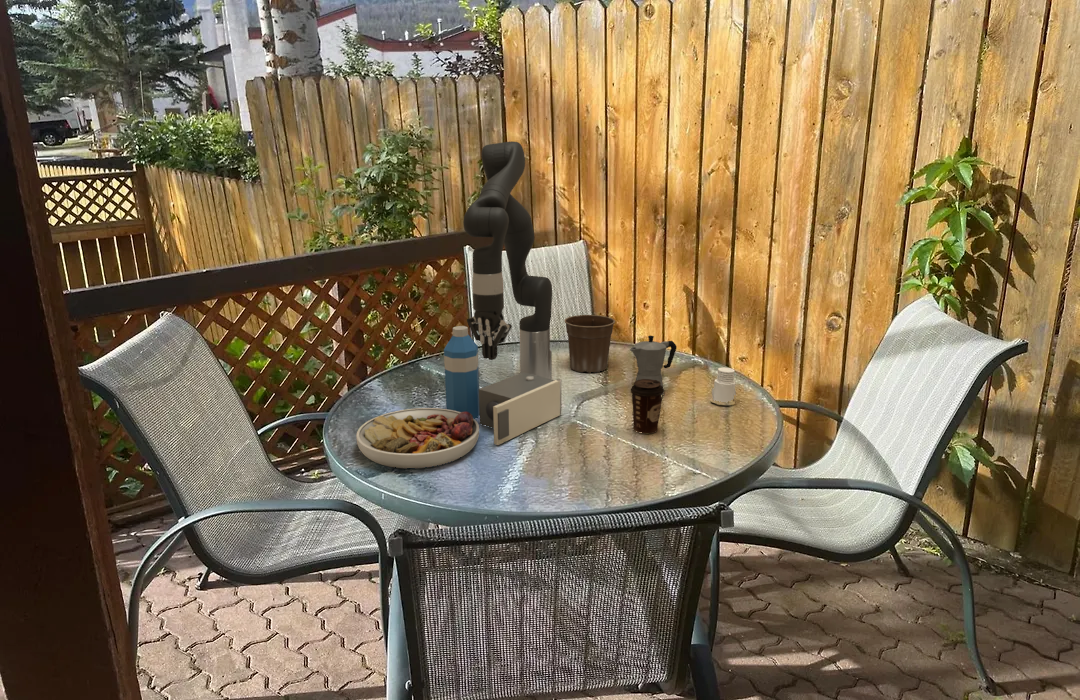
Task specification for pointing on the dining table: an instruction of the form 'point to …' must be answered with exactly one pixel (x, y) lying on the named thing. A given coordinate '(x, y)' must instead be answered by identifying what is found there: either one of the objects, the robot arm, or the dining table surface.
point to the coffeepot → (652, 358)
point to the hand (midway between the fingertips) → (489, 358)
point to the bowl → (418, 437)
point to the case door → (527, 411)
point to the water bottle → (462, 373)
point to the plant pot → (589, 342)
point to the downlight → (724, 385)
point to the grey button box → (506, 393)
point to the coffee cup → (646, 405)
